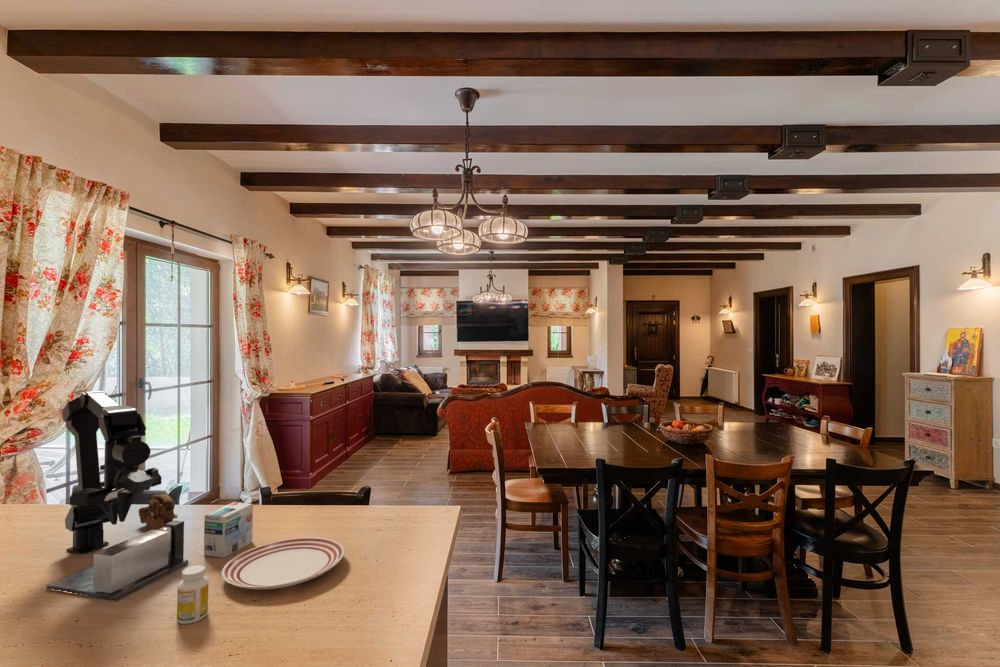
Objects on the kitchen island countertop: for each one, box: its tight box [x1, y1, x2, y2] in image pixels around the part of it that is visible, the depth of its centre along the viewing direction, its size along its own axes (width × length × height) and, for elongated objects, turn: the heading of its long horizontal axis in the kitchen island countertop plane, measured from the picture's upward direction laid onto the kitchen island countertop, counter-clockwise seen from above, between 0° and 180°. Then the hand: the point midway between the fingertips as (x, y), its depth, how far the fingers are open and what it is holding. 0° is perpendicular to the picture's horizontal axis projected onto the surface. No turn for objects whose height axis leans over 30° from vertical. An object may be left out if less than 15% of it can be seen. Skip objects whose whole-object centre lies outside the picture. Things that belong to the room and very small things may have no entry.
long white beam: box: [92, 527, 171, 593], centre depth 113 cm, size 5×16×8 cm, turn 167°
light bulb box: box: [203, 501, 254, 559], centre depth 130 cm, size 11×7×11 cm, turn 168°
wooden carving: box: [138, 493, 179, 531], centre depth 143 cm, size 16×5×10 cm, turn 67°
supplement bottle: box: [176, 564, 210, 625], centre depth 98 cm, size 5×5×10 cm
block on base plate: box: [45, 519, 189, 602], centre depth 115 cm, size 20×19×10 cm
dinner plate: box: [220, 536, 345, 591], centre depth 118 cm, size 28×27×3 cm
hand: (118, 523), depth 119 cm, fingers closed
